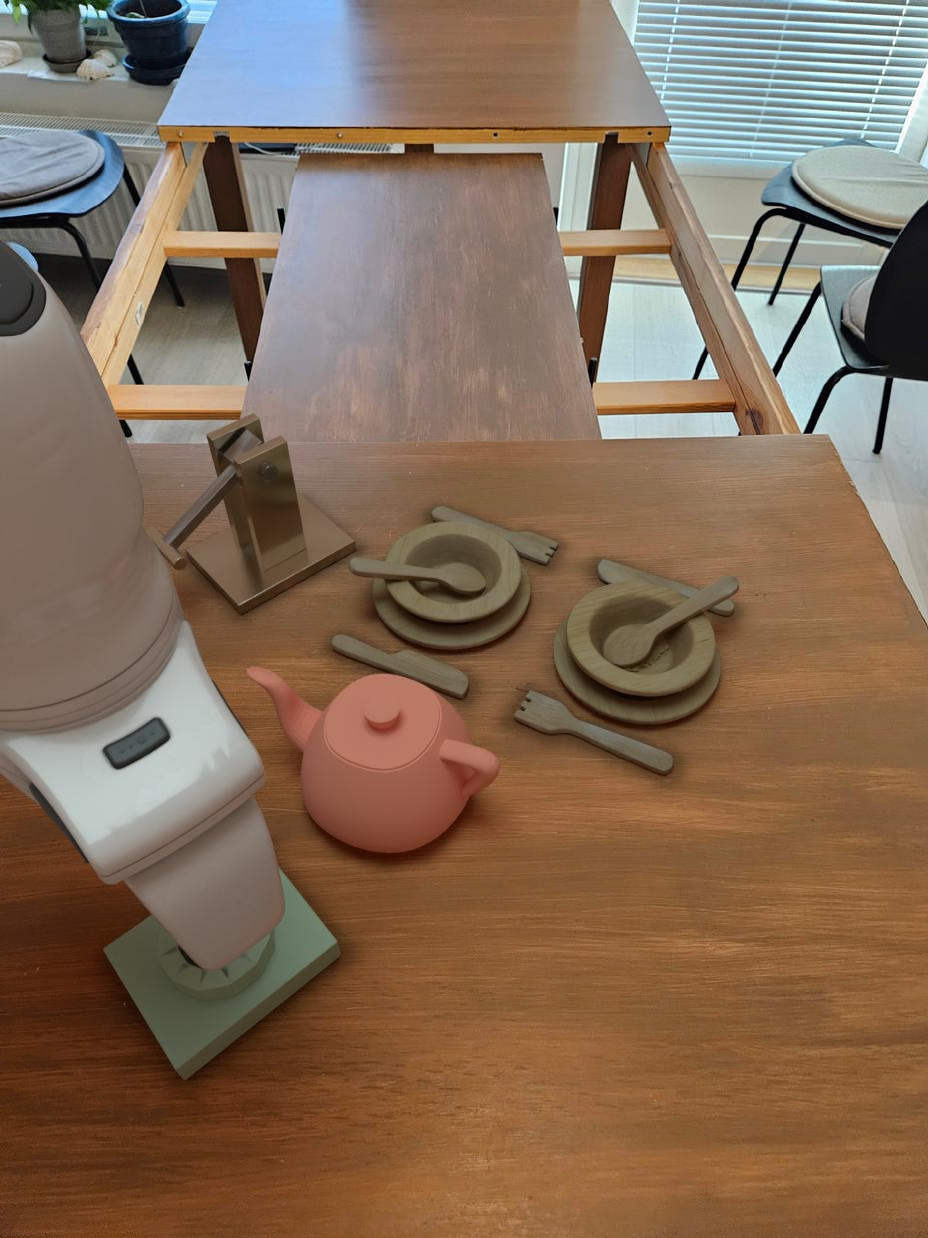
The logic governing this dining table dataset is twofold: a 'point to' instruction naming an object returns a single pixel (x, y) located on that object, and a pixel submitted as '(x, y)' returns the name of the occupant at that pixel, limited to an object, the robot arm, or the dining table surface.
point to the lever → (201, 506)
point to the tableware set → (584, 643)
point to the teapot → (382, 760)
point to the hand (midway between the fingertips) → (160, 839)
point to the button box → (218, 981)
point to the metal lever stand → (264, 524)
